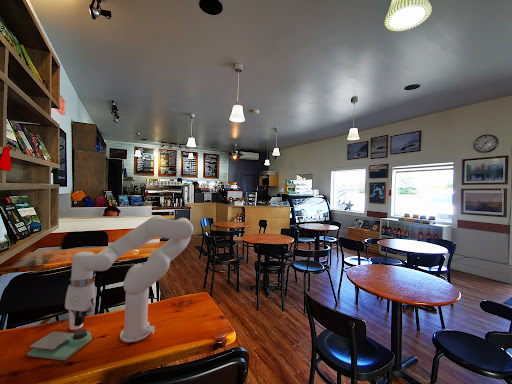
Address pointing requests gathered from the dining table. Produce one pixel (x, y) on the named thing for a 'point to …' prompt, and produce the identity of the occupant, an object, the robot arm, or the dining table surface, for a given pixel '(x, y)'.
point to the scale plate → (51, 340)
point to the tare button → (80, 334)
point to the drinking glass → (73, 322)
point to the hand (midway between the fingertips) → (79, 324)
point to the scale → (62, 349)
